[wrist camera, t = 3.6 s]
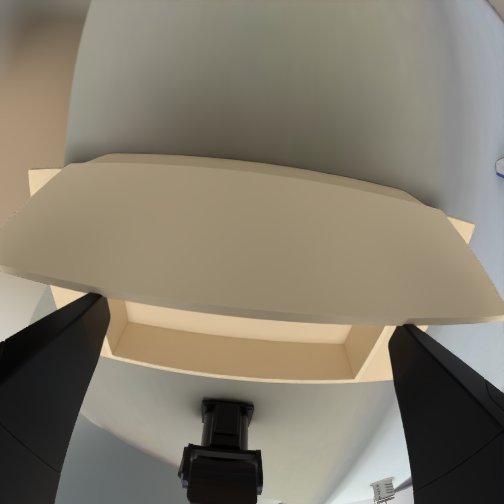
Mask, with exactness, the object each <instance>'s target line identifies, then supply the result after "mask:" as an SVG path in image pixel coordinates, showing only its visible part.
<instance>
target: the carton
mask: <svg viewBox="0 0 504 504" xmlns="http://www.w3.org/2000/svg"><path fill="white" fill-rule="evenodd" d="M85 163H138V164H162V165H179V166H193V167H205V168H216V169H226V170H236V171H245V172H253V173H261V174H269V175H276V176H283V177H290V178H296V179H303V180H309V181H315V182H320V183H326V184H332V185H337V186H342V187H347V188H352V189H357V190H362V191H367V192H371V193H376V194H380V195H385V196H389V197H393V198H398V199H402V200H406V201H410V202H414V203H418V204H421V205H424V204H423V203H421V202H420V201H418V200H417V199H415V198H414V197H412V196H411V195H409V194H408V193H406V192H405V191H403V190H400V189H396V188H392V187H388V186H384V185H380V184H375V183H371V182H367V181H362V180H358V179H353V178H348V177H343V176H338V175H333V174H328V173H323V172H317V171H312V170H306V169H300V168H293V167H287V166H280V165H273V164H266V163H258V162H250V161H242V160H232V159H222V158H211V157H199V156H185V155H167V154H136V153H109V154H106V155H103V156H101V157H98V158H96V159H93V160H90V161H88V162H85ZM63 168H65V167H55V168H35V169H30V170H28V172H29V183H30V192H31V197H32V196H33V195H34V194H35V193H36V192H37V191H38V190H39V189H40V188H41V187H43V186H44V185H45V184H46V183H47V182H48V181H49V180H50V179H52V178H53V177H54V176H55V175H56V174H57V173H59V172H60V171H61V170H62V169H63ZM425 206H426V205H425ZM446 217H447V218H448V219H449V220H450V222H451V223H452V224H453V226H454V227H455V228H456V230H457V231H458V232H459V233H460V235H461V236H462V238H463V239H464V240H465V242H466V243H467V244H468V243H469V240H470V238H471V235H472V232H473V230H474V227H475V224H473V223H472V222H469V221H465V220H462V219H459V218H455V217H452V216H448V215H446ZM50 287H51V290H52V294H53V297H54V300H55V303H56V306H57V309H60V308H62V307H63V306H65V305H67V304H69V303H71V302H73V301H74V300H76V299H78V298H80V297H82V296H84V295H86V294H87V293H83V292H78V291H74V290H69V289H65V288H60V287H56V286H52V285H50ZM107 300H108V305H109V309H110V314H111V319H110V324H109V327H108V330H107V333H106V336H105V339H104V343H103V346H102V349H101V353H100V355H101V356H104V357H108V358H112V359H116V360H120V361H124V362H129V363H133V364H137V365H142V366H147V367H152V368H157V369H162V370H168V371H173V372H179V373H186V374H192V375H199V376H207V377H215V378H223V379H233V380H244V381H257V382H274V383H353V382H369V381H382V380H393V374H392V368H391V362H390V356H389V350H388V342H389V339H390V337H391V336H392V334H393V332H394V330H395V328H396V326H366V325H336V324H316V323H299V322H285V321H273V320H262V319H251V318H241V317H232V316H223V315H215V314H206V313H199V312H191V311H184V310H177V309H170V308H164V307H158V306H151V305H145V304H139V303H134V302H128V301H123V300H117V299H112V298H107ZM417 327H418V328H419V329H421V330H422V331H424V332H425V331H426V329H427V327H428V325H427V326H417Z"/></svg>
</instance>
